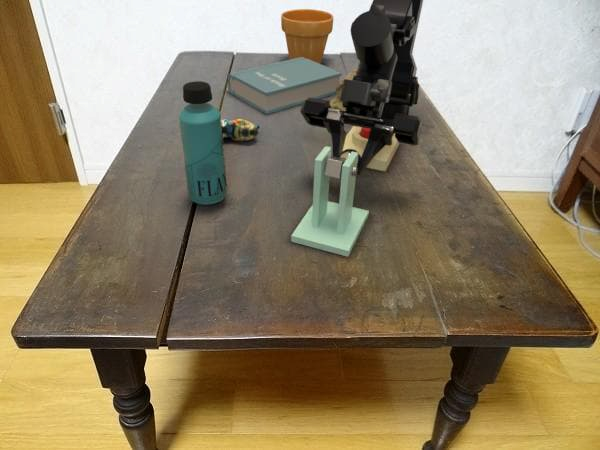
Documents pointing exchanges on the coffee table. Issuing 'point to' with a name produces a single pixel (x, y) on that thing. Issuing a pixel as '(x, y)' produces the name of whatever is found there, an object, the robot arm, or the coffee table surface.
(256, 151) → the coffee table surface
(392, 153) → the button block
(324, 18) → the flower pot
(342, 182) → the bracket
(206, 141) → the beverage bottle
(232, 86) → the book
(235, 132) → the figurine
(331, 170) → the lever
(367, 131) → the button
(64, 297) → the coffee table surface
